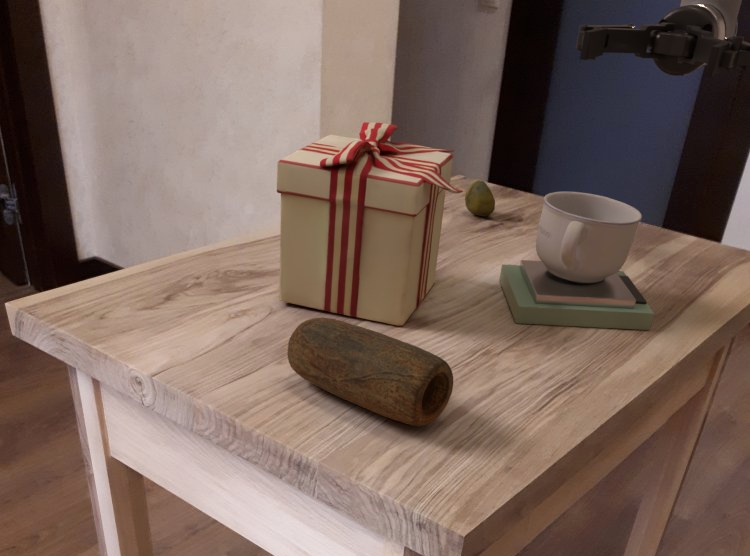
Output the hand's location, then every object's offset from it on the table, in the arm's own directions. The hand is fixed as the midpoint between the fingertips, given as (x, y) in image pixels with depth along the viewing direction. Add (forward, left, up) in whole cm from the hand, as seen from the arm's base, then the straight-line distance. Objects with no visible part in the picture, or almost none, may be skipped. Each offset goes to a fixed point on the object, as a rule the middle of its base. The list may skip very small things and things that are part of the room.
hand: (646, 53), depth 85 cm
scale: (+5, +8, -25) cm, 27 cm away
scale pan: (+5, +8, -23) cm, 25 cm away
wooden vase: (+29, +34, -25) cm, 51 cm away
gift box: (+28, +8, -25) cm, 38 cm away
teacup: (+5, +8, -22) cm, 24 cm away
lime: (+12, -25, -25) cm, 37 cm away
